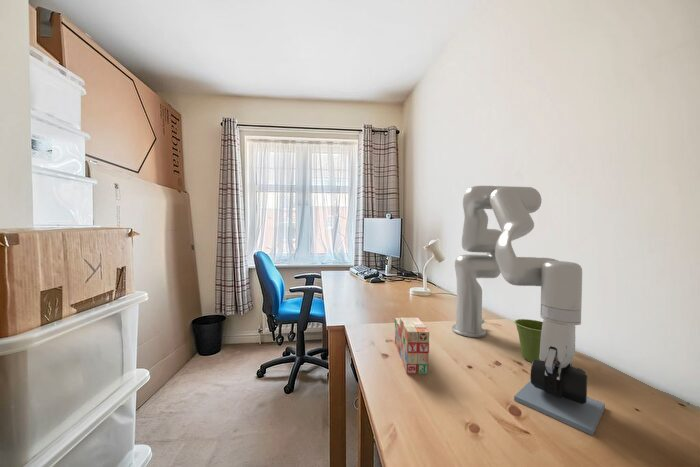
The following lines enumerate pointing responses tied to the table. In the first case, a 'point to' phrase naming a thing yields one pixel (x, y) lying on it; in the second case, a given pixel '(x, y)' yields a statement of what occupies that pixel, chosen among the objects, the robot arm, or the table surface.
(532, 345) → the plant pot
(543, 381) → the end cap
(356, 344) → the table surface
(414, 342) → the stack of blocks
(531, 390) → the slate mat
